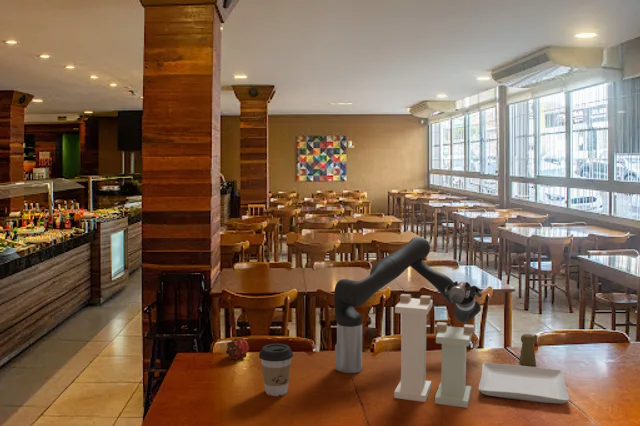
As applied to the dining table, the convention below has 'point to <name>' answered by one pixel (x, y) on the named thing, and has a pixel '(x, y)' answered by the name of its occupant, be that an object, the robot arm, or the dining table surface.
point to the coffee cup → (276, 368)
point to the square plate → (523, 383)
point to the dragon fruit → (237, 348)
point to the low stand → (453, 364)
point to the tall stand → (413, 348)
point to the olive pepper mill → (527, 350)
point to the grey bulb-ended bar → (457, 293)
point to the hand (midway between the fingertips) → (461, 284)
